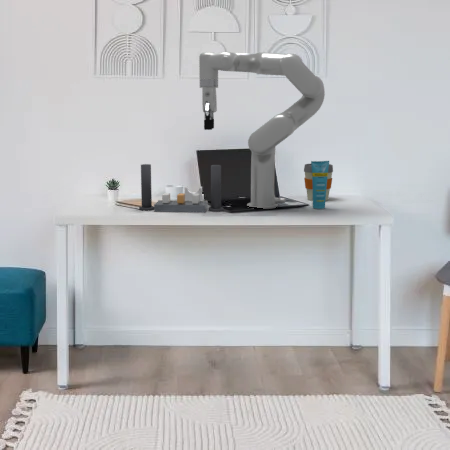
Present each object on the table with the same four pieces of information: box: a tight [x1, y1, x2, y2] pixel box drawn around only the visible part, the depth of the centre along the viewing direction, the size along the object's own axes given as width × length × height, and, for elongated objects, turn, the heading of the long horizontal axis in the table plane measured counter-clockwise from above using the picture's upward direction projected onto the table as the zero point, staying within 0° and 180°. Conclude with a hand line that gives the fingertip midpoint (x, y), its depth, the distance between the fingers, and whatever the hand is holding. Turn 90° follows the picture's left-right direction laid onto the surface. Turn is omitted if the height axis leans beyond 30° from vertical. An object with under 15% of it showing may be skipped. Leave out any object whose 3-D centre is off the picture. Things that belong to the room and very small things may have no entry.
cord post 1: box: [138, 163, 154, 212], centre depth 308 cm, size 6×6×18 cm
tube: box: [310, 160, 330, 210], centre depth 310 cm, size 7×5×19 cm, turn 104°
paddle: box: [192, 194, 200, 204], centre depth 307 cm, size 2×5×3 cm, turn 175°
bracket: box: [184, 186, 205, 201], centre depth 327 cm, size 13×7×8 cm, turn 176°
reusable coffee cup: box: [303, 163, 334, 202], centre depth 333 cm, size 13×13×15 cm
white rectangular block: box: [161, 192, 171, 203], centre depth 308 cm, size 2×5×3 cm, turn 174°
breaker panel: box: [153, 199, 209, 213], centre depth 308 cm, size 20×10×3 cm, turn 85°
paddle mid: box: [176, 192, 185, 203], centre depth 307 cm, size 2×5×3 cm, turn 175°
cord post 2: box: [208, 164, 225, 213], centre depth 305 cm, size 6×6×18 cm
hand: (209, 128), depth 313 cm, fingers open, 6 cm apart
